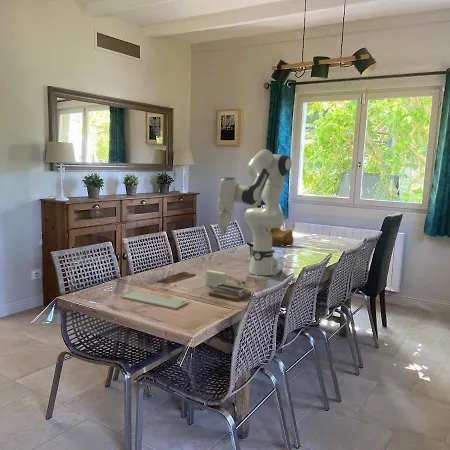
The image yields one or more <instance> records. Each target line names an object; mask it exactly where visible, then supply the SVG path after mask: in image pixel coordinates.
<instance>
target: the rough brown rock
mask: <svg viewBox="0 0 450 450" xmlns="http://www.w3.org/2000/svg"><path fill="white" fill-rule="evenodd" d="M267 232H268V234H270V235H271V237H272V245H274V246H279V245H283V246H287V245H291V246H292V245H293V244H294V237H293V230H292V229H290V228H289V229H286V230H282V229H281V227H279V228H267Z"/></svg>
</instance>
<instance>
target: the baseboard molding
mask: <svg viewBox="0 0 450 450" xmlns="http://www.w3.org/2000/svg"><path fill="white" fill-rule="evenodd" d="M121 298H122V299H126V300H131V301H135V302H139V303H144V304H148V305H154V306H158V307H163V308H167V309H171V310H179V309H180V308H183V307H185V306H187V305H188V304H190V303H191V300H188V301H189V302H188V301H187V300H186V301H185V300H184V301H182V300H177V299H172V298H169V297H163V296H159V295H158V296H157V295H152V294H148V293H142V292H139V291H132V292H130V293H127V294H124V295H122V296H121Z"/></svg>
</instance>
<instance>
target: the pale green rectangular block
mask: <svg viewBox="0 0 450 450" xmlns="http://www.w3.org/2000/svg"><path fill="white" fill-rule="evenodd" d="M219 283H223V284H227V272H222V271H218V270H212V269H207V270H205V286H206V287H211V288H213V286H214V285H217V284H219Z"/></svg>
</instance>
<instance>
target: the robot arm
mask: <svg viewBox="0 0 450 450" xmlns="http://www.w3.org/2000/svg"><path fill="white" fill-rule="evenodd" d="M246 166H247V169H246V170H247V172H248V174H249V176H250V177H252V179H254V181H253V183H252V184H251V185H243V184H239V183H237V182H236V181H237V180H236V178H235V177H230V176H228V177H227V176H226V177H223V178H221V179H220V182H219V187H218V199H217V206H216V211H218V221H217V226H218V227H219V231H220V232H219V236H224V235H226V234H227V231H228V226H230V224H231V219H232V214H233V213H235V203H236V204H237V203H238V204H245V205H249V206H253V205H254V204H256V203H257V202H258V200H259V199H260V195H261V201H262V202H263V203H264V204H265V207H264V208H263V207H262V208H261V207H251V208H249V207H248V208H247V209H246V211H244V214H243V215H244V221H245V222H246V223H247V225H248V226H249V228H250V230H251V233H252V236H253V237H252V238H253V239H252V240H253V244H252V245H253V246H252V247H253V249H252V252H251V253H252V254H251V257H250V260H249V268H247V272H249V274H253V275H255V276H256V275H257V276H276V275H278V274H279V273H281V272H282V268H280V267H279V266H278V260H277V259H276V258H275V257H274V254H275V249H273V246H272V237H271V235H270V234H269V231H268V230H267V229H268V228H281V227H282V226H283V225H284V222H285V215H284V214H283V211H282V210H281V209H280V200H281V196H282V193H283V189H284V185H285V178H286V177H285V176H286V175H287V174H288V173H289V172H290V170H291V167H292V159H291V158H290V156H289V155H287V154H286V155H285V154H279V153H278V154H276V153H273V152H272V151H270V150H269V149H261V150H259V151H258V152H257V153H256V154H255V155H254V156H253V157H252V158H251V159H250V161H249V162H248V164H247V165H246ZM261 192H262V193H261ZM277 273H278V274H277Z"/></svg>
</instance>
